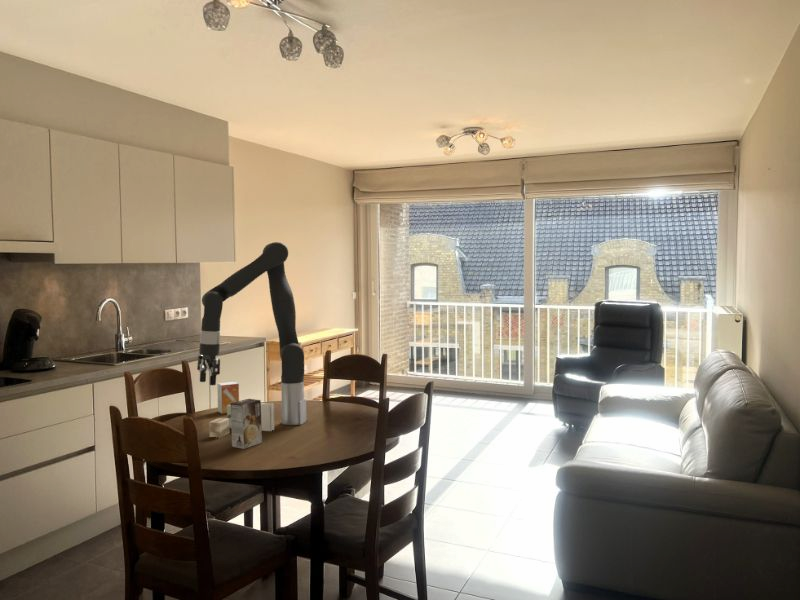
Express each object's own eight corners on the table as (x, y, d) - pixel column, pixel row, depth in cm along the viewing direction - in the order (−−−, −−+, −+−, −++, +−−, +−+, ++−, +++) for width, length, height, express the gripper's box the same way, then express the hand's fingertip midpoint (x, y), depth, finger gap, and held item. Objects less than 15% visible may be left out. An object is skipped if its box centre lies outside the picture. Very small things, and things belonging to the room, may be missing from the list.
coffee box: (250, 440, 230) (249, 398, 229) (262, 443, 226) (261, 399, 226) (231, 446, 222) (230, 402, 221) (244, 449, 218) (242, 404, 218)
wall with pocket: (274, 429, 246) (273, 403, 245) (271, 431, 243) (270, 404, 243) (253, 428, 248) (253, 402, 248) (250, 430, 245) (249, 403, 245)
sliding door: (253, 428, 247) (252, 406, 247) (251, 429, 245) (250, 407, 245) (228, 427, 250) (228, 405, 249) (226, 428, 248) (225, 405, 248)
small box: (221, 414, 274) (221, 385, 274) (217, 411, 280) (216, 383, 279) (239, 411, 279) (239, 383, 278) (235, 409, 284) (234, 381, 284)
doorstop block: (229, 433, 241) (229, 418, 241) (220, 438, 234) (219, 422, 234) (219, 433, 242) (219, 417, 242) (209, 437, 235) (209, 422, 235)
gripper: (227, 344, 239) (225, 385, 239) (210, 340, 249) (208, 380, 249) (209, 344, 234) (206, 387, 234) (192, 340, 244) (190, 381, 244)
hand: (207, 383), depth 242 cm, fingers open, 8 cm apart
